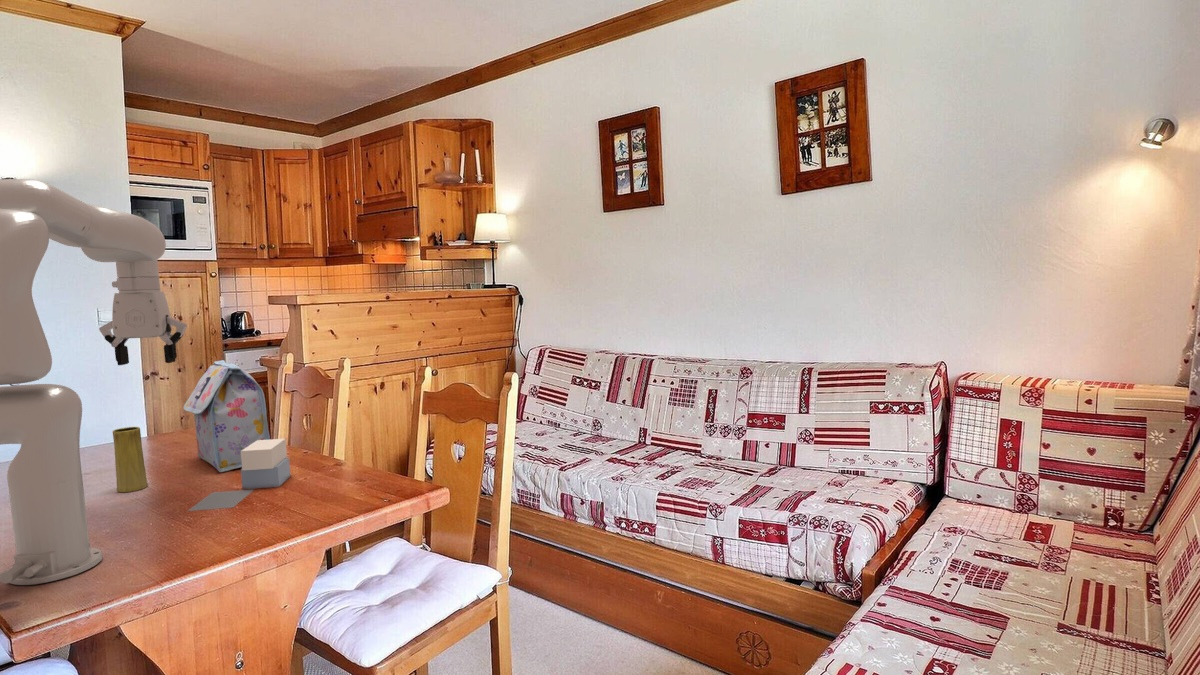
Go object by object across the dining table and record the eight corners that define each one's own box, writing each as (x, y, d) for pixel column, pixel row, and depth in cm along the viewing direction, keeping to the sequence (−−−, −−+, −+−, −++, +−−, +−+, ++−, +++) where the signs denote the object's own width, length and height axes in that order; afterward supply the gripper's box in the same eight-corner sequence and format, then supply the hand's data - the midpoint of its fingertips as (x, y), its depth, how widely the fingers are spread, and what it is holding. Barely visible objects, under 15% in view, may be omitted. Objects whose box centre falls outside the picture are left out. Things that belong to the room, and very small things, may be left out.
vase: (131, 493, 153) (125, 432, 152) (109, 492, 154) (103, 432, 153) (154, 484, 159) (148, 426, 158) (132, 484, 160) (126, 426, 159)
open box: (279, 488, 153) (277, 466, 153) (242, 490, 152) (240, 469, 152) (290, 477, 161) (289, 457, 161) (255, 480, 160) (254, 459, 160)
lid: (272, 468, 152) (271, 449, 151) (242, 470, 151) (240, 451, 150) (287, 456, 161) (285, 438, 161) (258, 458, 161) (257, 440, 160)
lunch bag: (185, 460, 181) (176, 363, 178) (252, 447, 192) (245, 356, 189) (204, 477, 164) (195, 370, 162) (277, 462, 175) (269, 362, 173)
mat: (233, 509, 140) (232, 507, 140) (187, 512, 139) (187, 510, 139) (254, 491, 152) (254, 489, 152) (212, 494, 150) (212, 492, 150)
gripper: (85, 287, 141) (94, 367, 142) (173, 284, 143) (180, 363, 144) (106, 287, 148) (114, 363, 150) (189, 284, 150) (196, 359, 152)
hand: (147, 363), depth 147 cm, fingers open, 9 cm apart
